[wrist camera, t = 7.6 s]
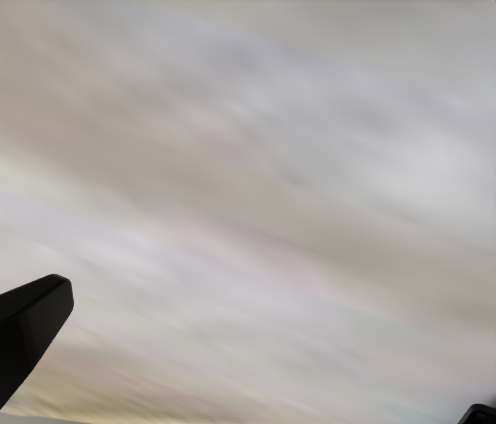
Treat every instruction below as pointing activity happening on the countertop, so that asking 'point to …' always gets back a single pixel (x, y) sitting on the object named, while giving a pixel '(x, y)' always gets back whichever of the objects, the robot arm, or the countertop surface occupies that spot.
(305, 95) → the countertop surface
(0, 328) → the robot arm
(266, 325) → the countertop surface
